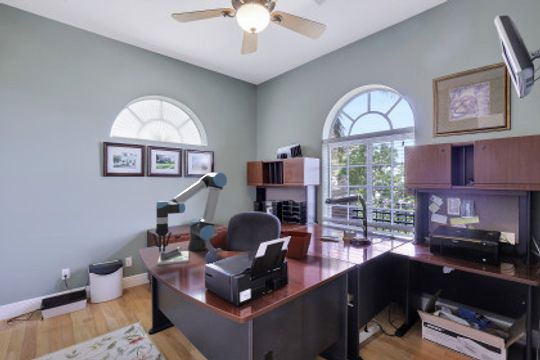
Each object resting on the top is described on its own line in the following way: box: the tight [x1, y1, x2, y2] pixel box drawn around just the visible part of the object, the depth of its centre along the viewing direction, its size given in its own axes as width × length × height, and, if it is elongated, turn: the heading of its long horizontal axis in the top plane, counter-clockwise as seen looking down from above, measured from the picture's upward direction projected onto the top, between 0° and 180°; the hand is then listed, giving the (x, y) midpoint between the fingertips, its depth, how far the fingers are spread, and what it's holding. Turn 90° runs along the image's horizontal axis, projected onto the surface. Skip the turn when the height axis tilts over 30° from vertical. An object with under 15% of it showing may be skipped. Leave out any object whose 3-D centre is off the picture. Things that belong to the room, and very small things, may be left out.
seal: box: [204, 233, 223, 264], centre depth 175 cm, size 8×12×20 cm
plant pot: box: [279, 230, 313, 260], centre depth 193 cm, size 19×19×17 cm
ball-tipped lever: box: [159, 246, 182, 260], centre depth 184 cm, size 19×4×4 cm, turn 158°
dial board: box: [156, 250, 190, 266], centre depth 185 cm, size 20×22×2 cm
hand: (162, 256), depth 179 cm, fingers closed
